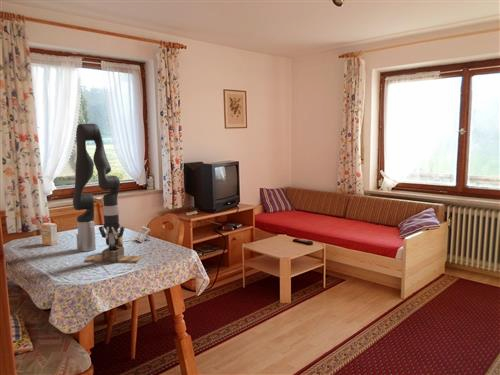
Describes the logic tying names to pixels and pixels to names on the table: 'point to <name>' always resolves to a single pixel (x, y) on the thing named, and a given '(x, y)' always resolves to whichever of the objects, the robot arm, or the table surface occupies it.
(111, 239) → the hinge pin
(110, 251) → the hinge
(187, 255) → the table surface
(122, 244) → the canned food
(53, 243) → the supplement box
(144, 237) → the portable electronic device stand
